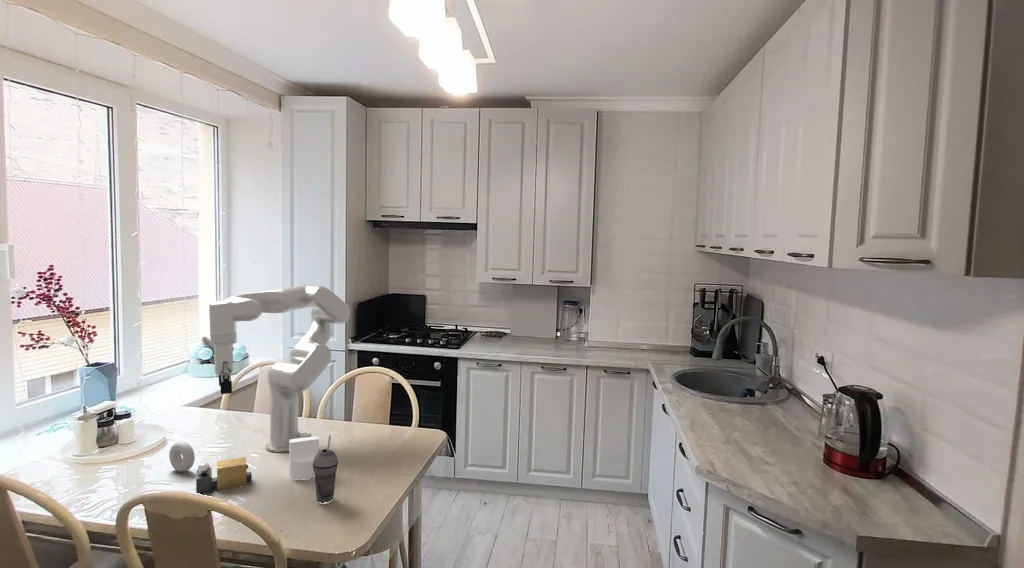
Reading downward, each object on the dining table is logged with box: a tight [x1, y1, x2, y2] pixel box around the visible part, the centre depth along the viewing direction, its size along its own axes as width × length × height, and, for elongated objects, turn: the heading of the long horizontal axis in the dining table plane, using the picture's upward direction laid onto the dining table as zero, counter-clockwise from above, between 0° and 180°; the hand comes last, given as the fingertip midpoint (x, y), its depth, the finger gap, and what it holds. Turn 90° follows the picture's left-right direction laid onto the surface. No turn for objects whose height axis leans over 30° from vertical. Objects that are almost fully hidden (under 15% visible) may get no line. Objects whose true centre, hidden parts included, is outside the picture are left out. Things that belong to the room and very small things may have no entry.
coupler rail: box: [195, 462, 253, 495], centre depth 165 cm, size 15×7×8 cm, turn 119°
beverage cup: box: [313, 434, 339, 503], centre depth 157 cm, size 7×7×20 cm
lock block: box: [216, 456, 249, 492], centre depth 166 cm, size 9×6×7 cm
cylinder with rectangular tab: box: [288, 435, 320, 481], centre depth 174 cm, size 9×9×12 cm
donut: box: [168, 440, 196, 473], centre depth 174 cm, size 10×4×10 cm, turn 66°
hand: (225, 389), depth 176 cm, fingers open, 9 cm apart
